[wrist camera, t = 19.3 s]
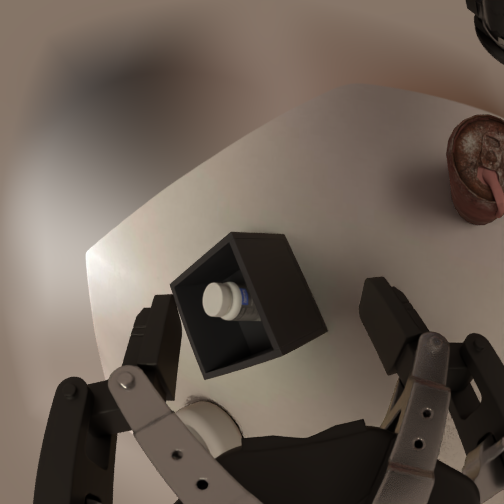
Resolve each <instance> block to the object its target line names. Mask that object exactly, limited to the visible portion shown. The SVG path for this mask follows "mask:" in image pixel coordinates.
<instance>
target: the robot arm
mask: <svg viewBox="0 0 504 504" xmlns="http://www.w3.org/2000/svg"><path fill="white" fill-rule="evenodd" d="M466 4H467V8H468V9H469V10H470V11H472V12H473V13H474V14H476V15H477V17H478V20H479V21H480V22H481V23H482V24H483V27H484V30H485V32H486V34H487V35H488V37H489V38H490V39H491V40H492V42H493V43H494V44H495V45H496V46H498V47H499V48H500V49H501V50H503V51H504V0H466ZM359 315H360V319H361V321H362V323H363V325H364V327H365V329H366V331H367V333H368V335H369V337H370V339H371V341H372V343H373V345H374V347H375V349H376V351H377V353H378V356H379V358H380V360H381V362H382V364H383V366H384V368H385V371H386V373H387V375H388V376H389V375H392V374H396V373H397V374H398V376H399V378H398V380H397V383H396V386H395V389H394V393H393V396H392V399H391V402H390V405H389V408H388V411H387V414H386V416H385V418H384V420H383V422H382V424H381V426H380V428H379V427H374V426H366V425H365V422H364V419H361V420H357V421H353V422H349V423H344V424H340V425H335V426H333V427H331V428H329V429H327V430H325V431H322V432H320V433H318V434H315V435H313V436H311V437H308V438H294V437H282V436H263V437H252V438H241V444H242V445H241V446H238V447H235V448H232V449H230V450H228V451H226V452H224V453H222V454H221V455H219V456H218V457H216V458H214V457H213V456H212V455H211V454H210V453H209V452H208V451H207V450H206V449H205V447H204V446H203V445H202V444H201V443H200V442H199V441H198V440H197V438H196V437H195V436H194V435H193V434H192V433H191V431H190V430H189V429H188V428H187V427H186V425H185V424H184V423H183V422H182V421H181V419H180V418H179V417H178V416H177V414H176V413H175V412H174V411H172V410H171V409H170V408H169V407H168V405H167V404H166V400H168V401H174V400H175V390H176V380H177V371H178V362H179V354H180V346H181V338H182V326H181V320H180V317H179V313H178V309H177V305H176V301H175V297H174V295H173V294H167V295H155V296H154V299H153V302H152V306H151V308H143V309H142V311H141V312H140V313H139V314H138V315H137V317H136V320H135V323H134V326H133V327H134V328H133V329H132V333H131V336H130V339H129V343H128V346H127V350H126V353H125V357H124V360H123V364H122V367H119V368H117V369H116V370H115V371H113V373H112V374H111V375H110V377H109V379H108V380H105V381H102V382H97V383H92V384H88V385H87V384H86V382H85V381H84V380H83V379H81V378H79V377H70V378H67V379H65V380H63V381H62V382H61V383H60V384H59V386H58V387H57V390H56V392H55V396H54V399H53V403H52V406H51V410H50V414H49V418H48V422H47V426H46V430H45V434H44V439H43V443H42V448H41V453H40V459H39V464H38V470H37V476H36V483H35V491H34V500H33V504H113V481H114V464H115V453H116V443H117V433H120V432H125V431H130V430H133V432H134V433H133V435H134V437H135V438H136V440H137V442H138V443H139V445H140V446H141V448H142V449H143V451H144V452H145V454H146V455H147V457H148V458H149V460H150V461H151V463H152V464H153V465H154V467H155V468H156V470H157V471H158V472H159V474H160V475H161V476H162V478H163V479H164V480H165V482H166V483H167V484H168V485H169V487H170V488H171V489H172V490H173V492H174V493H175V494H176V495H177V497H178V498H179V499H178V500H177V501H176V502H175V503H174V504H482V503H484V502H485V501H487V500H488V499H490V498H491V497H493V496H494V495H496V494H497V493H499V492H500V491H502V490H504V365H503V363H502V362H501V360H500V358H499V357H498V355H497V354H496V352H495V350H494V349H493V347H492V346H491V344H490V343H489V341H488V340H487V339H486V338H485V337H484V336H482V335H480V334H476V333H472V334H469V335H468V336H467V337H466V339H465V341H464V342H463V343H449V342H448V341H447V339H446V338H445V337H444V336H442V335H441V334H439V333H436V332H430V331H429V330H428V328H427V327H426V325H425V324H424V322H423V321H422V319H421V318H420V316H419V315H418V313H417V312H416V310H415V309H413V306H412V305H411V303H409V300H408V299H407V298H406V296H405V295H404V293H402V292H401V291H400V290H398V289H397V288H396V287H394V286H393V287H391V286H390V284H389V283H388V282H387V280H386V279H385V278H384V277H383V276H381V277H373V278H367V279H366V280H365V283H364V287H363V291H362V296H361V300H360V304H359ZM472 379H474V381H475V383H476V385H477V387H478V389H479V391H480V393H481V396H482V400H481V403H480V402H479V400H478V398H477V396H476V394H475V392H474V389H473V388H472V386H471V384H470V382H471V381H472ZM448 409H449V412H450V414H451V416H452V419H453V421H454V424H455V426H456V429H457V431H458V434H459V437H460V439H461V442H462V445H463V447H464V450H465V453H466V459H465V465H464V466H463V468H462V473H461V472H459V471H457V470H455V469H453V468H452V467H450V466H448V465H446V464H445V463H443V462H441V461H439V460H438V459H437V458H438V454H439V450H440V447H441V442H442V438H443V434H444V429H445V424H446V419H447V414H448Z"/></svg>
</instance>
